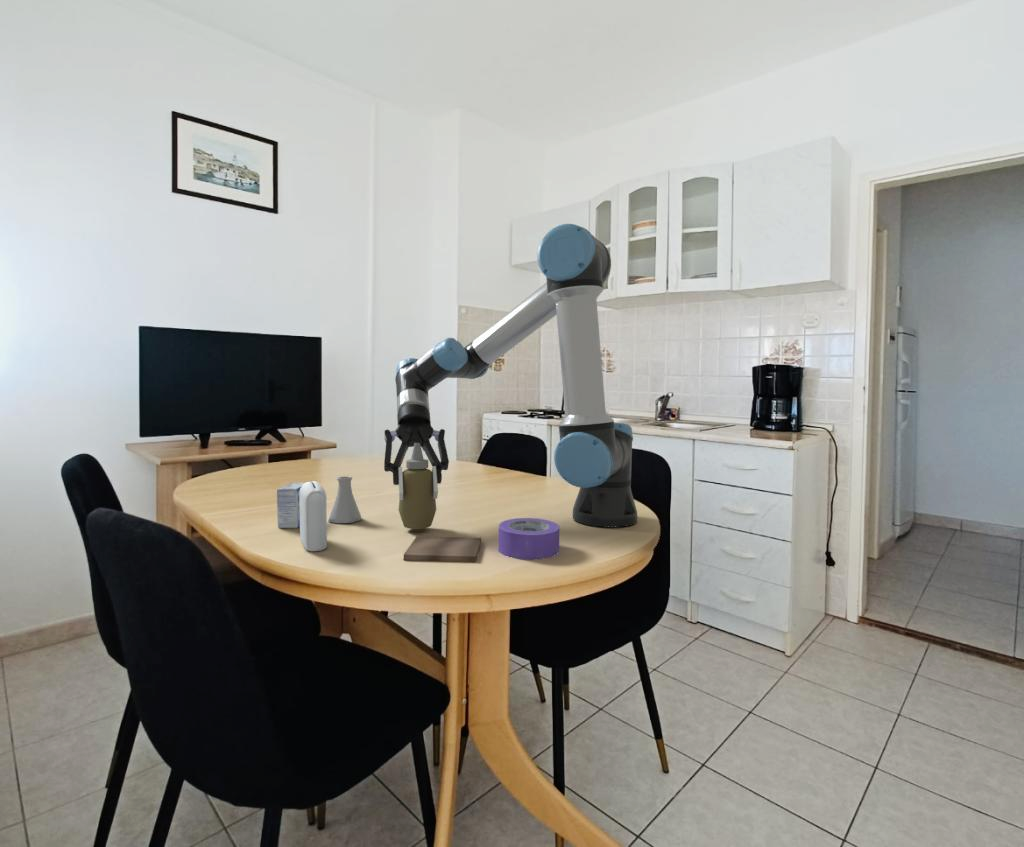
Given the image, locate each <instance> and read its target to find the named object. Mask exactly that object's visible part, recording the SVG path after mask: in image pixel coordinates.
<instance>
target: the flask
mask: <svg viewBox="0 0 1024 847" xmlns="http://www.w3.org/2000/svg"><path fill="white" fill-rule="evenodd" d="M336 479H337V481H338V487H337V488H338V490H337V494H336V496H335V501H334V504H333V507H332V509H331V512H330V515H329V518H328V519H327V522H328V523H334V524H352V523H356V522H359V521H360V520H361V519H362V515H361V512H360V510H359V507H358V505H357V502H356V500H355V497H354V493H353V490H352V486H351V485H352V480H353V476H348V475H347V476H345V475H344V476H343V475H342V476H338V477H336Z"/></svg>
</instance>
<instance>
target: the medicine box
mask: <svg viewBox="0 0 1024 847" xmlns="http://www.w3.org/2000/svg"><path fill="white" fill-rule="evenodd" d="M304 483H305V482H291V483H289V484H288V485H284V486H283V487H280V488H278V489H277V490H276V508H277V509H276V510H277V511H276V512H277V515H276V516H277V528H278V529H279V528H280V529H299V528H300V496H299V493H300V489H301V487H302V485H303V484H304ZM298 527H299V528H298Z"/></svg>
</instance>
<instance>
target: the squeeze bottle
mask: <svg viewBox="0 0 1024 847" xmlns="http://www.w3.org/2000/svg"><path fill="white" fill-rule="evenodd" d="M411 453H412V454H411V457H410V458H411V459H407V460H405V461H406V463H405V466H406V467H405V468H406V469H405V470H402V475H403V500H399V499H398V500H399V501H398V512H399V516H400V518H401V521H402V524H403V527H404V528H406V529H410V530H422V529H427V528H430V527H431V526H432V524H433V521H434V518H435V515H436V511H437V502H436V499H434V498H433V472H432V469H429V459H427V458H426V459H425V458H424V455H423V449H422V447H421V445H420V443H414V446H413V449H412V452H411Z"/></svg>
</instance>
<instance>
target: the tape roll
mask: <svg viewBox="0 0 1024 847" xmlns="http://www.w3.org/2000/svg"><path fill="white" fill-rule="evenodd" d="M560 529H561V528H560V525H559V524H558V523H557V522H555V521H551V520H548V519H543V518H535V517H533V518H532V517H519V518H511V519H506V520H504V521H501V522H500V523H499V524H498V543H497V544H498V546H497V547H498V552H499V553H500V554H501V555H503V556H505V557H507V556H508V557H507V558H511V557H512V559H516V560H517V559H518V560H525V559H527V560H528V561H530V560H531V561H534V559H537V560H544V559H543V558H546V559H549V557H550V558H553V557H555V556H557V555H558V554H559V553H560ZM558 552H559V553H558ZM557 553H558V554H557ZM556 554H557V555H556ZM554 555H555V556H554ZM552 556H553V557H552Z"/></svg>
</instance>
